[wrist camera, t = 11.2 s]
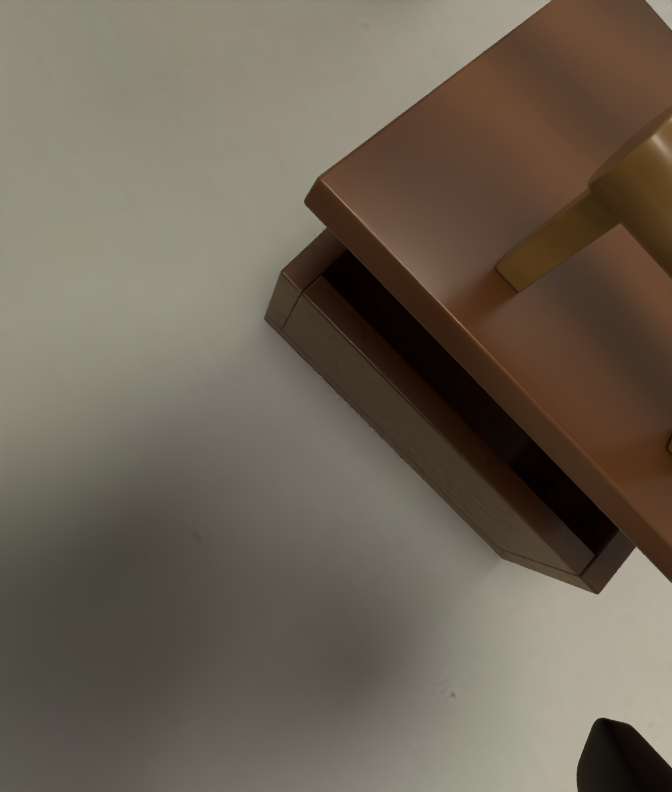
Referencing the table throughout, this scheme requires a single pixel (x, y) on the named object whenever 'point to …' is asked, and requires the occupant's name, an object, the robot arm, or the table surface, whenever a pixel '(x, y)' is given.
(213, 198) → the table surface
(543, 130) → the lid
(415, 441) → the wooden box
